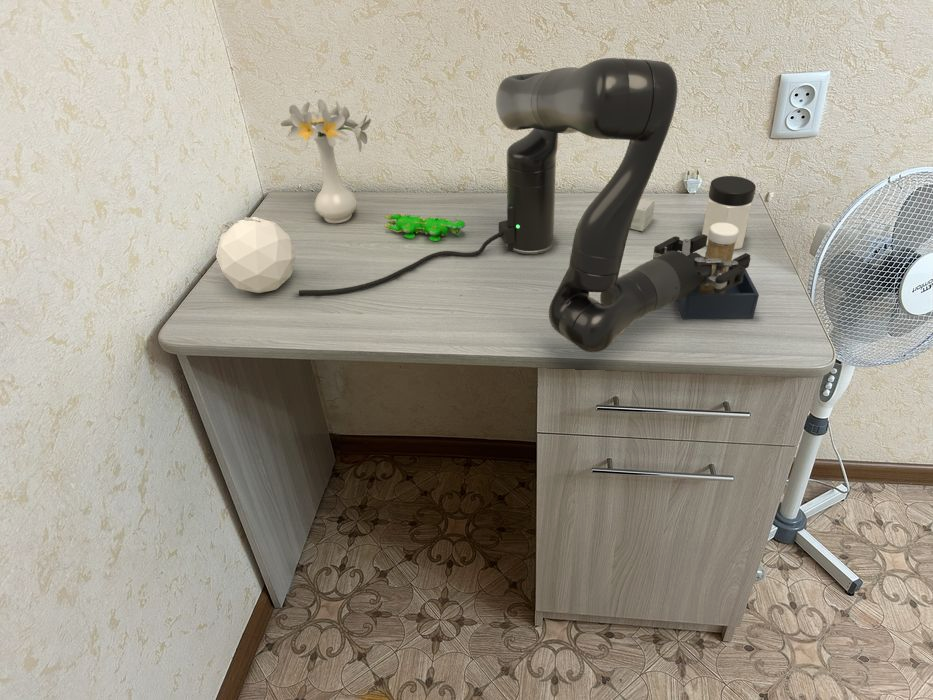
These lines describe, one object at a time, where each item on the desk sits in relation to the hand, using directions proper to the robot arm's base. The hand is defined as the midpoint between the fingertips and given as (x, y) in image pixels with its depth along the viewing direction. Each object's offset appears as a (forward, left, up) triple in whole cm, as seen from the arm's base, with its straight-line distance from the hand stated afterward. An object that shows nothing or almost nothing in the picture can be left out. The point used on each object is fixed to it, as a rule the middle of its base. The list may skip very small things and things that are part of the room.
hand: (725, 249), depth 115 cm
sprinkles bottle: (-1, -1, -9) cm, 9 cm away
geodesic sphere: (-83, +5, -10) cm, 84 cm away
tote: (-1, -1, -10) cm, 10 cm away
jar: (+6, +20, -10) cm, 23 cm away
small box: (-10, +28, -10) cm, 32 cm away
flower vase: (-74, +34, -10) cm, 82 cm away
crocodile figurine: (-54, +25, -10) cm, 61 cm away
